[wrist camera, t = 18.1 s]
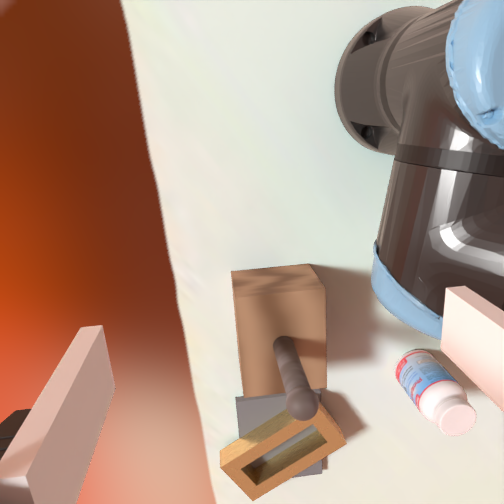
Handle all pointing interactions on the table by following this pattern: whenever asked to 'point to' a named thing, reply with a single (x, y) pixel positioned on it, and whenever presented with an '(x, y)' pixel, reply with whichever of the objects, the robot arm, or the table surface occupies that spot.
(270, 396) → the rubber mat
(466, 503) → the table surface
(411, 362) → the pill bottle
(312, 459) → the golden brown rectangular frame
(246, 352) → the walnut stand
